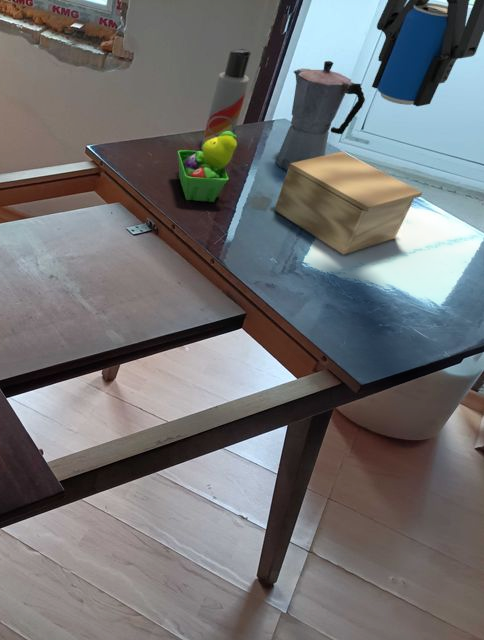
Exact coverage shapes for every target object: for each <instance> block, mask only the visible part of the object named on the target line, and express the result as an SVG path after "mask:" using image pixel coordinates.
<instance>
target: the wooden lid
mask: <svg viewBox="0 0 484 640" xmlns="http://www.w3.org/2000/svg"><path fill="white" fill-rule="evenodd" d="M289 168H291V169H292V170H294V171H296V172H298V173H300V174H301V175H303V176H305V177H307V178H308V179H310V180H312V181H314V182H315V183H317V184H319V185H321V186H322V187H324V188H326V189H328V190H330V191H331V192H333V193H335V194H337V195H338V196H340V197H342V198H344V199H345V200H347V201H349V202H351V203H352V204H354V205H356V206H358V207H359V208H361V209H363V210H365V211H367V212H368V211H372V210H375V209H379V208H382V207H386V206H389V205H393V204H396V203H400V202H403V201H407V200H410V199H417V198H420V197H421V196H422V195H423V192H422V191H420V190H419V189H416V188H414V187H412V186H411V185H409V184H407V183H405V182H403V181H401V180H399V179H397V178H395V177H393V176H391V175H389V174H387V173H385V172H383V171H381V170H379V169H377V168H376V167H374V166H372V165H370V164H368V163H366V162H364V161H362V160H359V159H358V158H356V157H354V156H353V155H350V154H348V153H346V152H344V151H338V152H334V153H329V154H325V156H320V157H316V158H311V159H307V160H303V161H298V162H294V163H290V166H289Z"/></svg>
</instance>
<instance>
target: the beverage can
mask: <svg viewBox="0 0 484 640" xmlns="http://www.w3.org/2000/svg"><path fill="white" fill-rule="evenodd" d="M422 8H423V9H422ZM447 9H448V5H443V4H439V3H431V2H428V3H427V4H425V5H421V6H416V5H415V4H414V8H413V9H412V10H411V11H409V12H408V13H407V15H406V17H405V20H404V22H403V25H402V27H401V30H400V32H399V35H398V37H397V40H396V43H395V45H394V48H393V50H392V53H391V55H390V58H389V60H388V63H387V65H386V68H385V70H384V73H383V75H382V78H381V80H380V83H379V85H378V88H376V89H377V91H378V92H379V93H380V97H381V98H382V99H384V100H385V101H388V102H391V103H394V104H397V105H404V106H405V105H407V106H411V105H413V103H414V101H415V99H416V96H417V94H418V92H419V90H420V87H421V85H422V83H423V80H424V78H425V76H426V74H427V71H428V69H429V67H430V65H431V62H432V60H433V58H434V57H435V56H437V55H441V52H442V45H443V37H444V31H445V29H446V26H447V22H446V17H447V16H448V15H447Z"/></svg>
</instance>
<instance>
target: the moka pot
mask: <svg viewBox="0 0 484 640" xmlns="http://www.w3.org/2000/svg"><path fill="white" fill-rule="evenodd" d="M333 65H334V62H333V61H330V60H326V61H324V64H323V69H311V68H298V69H296V70H294V71H293V73H294V74H295V88H294V96H293V102H292V107H291V115H292V117H291V121H290V126H289V128H288V129H287V132H286V135H285V137H284V140H283V142H282V145H281V147H280V149H279V152H278V154H277V156H276V158H275V163H276V164H277V166H278V167H280V168H281V169H283V170H286V171H288V168H289V166H290V163H294V162H298V161H303V160H307V159H311V158H316V157H320V156H325V155H326V149H327V144H328V139H329V133H330V132H331V133H333V134H336V135H343V133H344V132H345V130H346V129H347V128H348V127H349V125H350V123H352V121H353V120H354V118H355V116H356V115H357V114H358V113H359V111H360V110H361V109H362V108H363V105H364V104H365V102H366V98H365V95H364V94H365V93H364V92H363V88H362V87H361V86H362V83H354V82H352V79H351V78H349V77H347V76H345V75H343V74H342V73H340V72H337V71H333V70H332V68H333ZM346 94H347V95H356V96H357V101H356V102H355V104H354V105H353V106H352V109H351V110H350V111H349V113H348V114H347V115H346V117H345V119H344V121H343V122H342V123H341V124H340V126H339V127H335V126H332V122H333V121H334V119H335V118H336V116H337V114H338V111H339V109H340V106H341V104H342V102H343V100H344V99H345V96H346ZM331 126H332V127H331ZM329 131H330V132H329Z"/></svg>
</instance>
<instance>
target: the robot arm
mask: <svg viewBox="0 0 484 640" xmlns="http://www.w3.org/2000/svg"><path fill="white" fill-rule="evenodd" d="M470 1H471V0H446V3H447V6H448V9H447V15H448V16H447V17H446V22H447V26H446V29H445V31H444V37H443V45H442V52H441V55H437V56H435V57H434V58H433V60H432V62H431V65H430V67H429V69H428V71H427V74H426V76H425V78H424V80H423V83H422V85H421V87H420V90H419V92H418V94H417V96H416V99H415V101H414V103H413V104H412V105H413V106H415V107H422V106H426V105H427V106H428V105H430V104H431V102H432V100H433V98H434V96H435V94H436V91H437V90H438V87H439V85H440V84H444V83H445V82H446V81H447V80H448V78H449V76H450V74H451V72H452V70H453V67H454V66H455V63H456V61H457V60H458V59H460V60H461V59H466V58H472V57H474V56H475V55H476V53H477V51H478V48H479V45H480V43H481V40H482V37H483V35H484V0H474V2H473V5H472V8H471V10H470V13H469V16H468V10H469V5H470ZM429 2H430V0H387V1H386V3H385V6H384V8H383V11H382V13H381V15H380V17H379V19H378V22H377V24H376V29H377V30H378V31H381V32H383V34H384V36H385V38H384V42H383V44H382V47H381V50H380V53H379V55H378V59H377V60H378V61H379V62H380V64H379V66H378V69H377V72H376V75H375V76H374V80H373V82H372V85H371V88H373V89H377V88H378V85H379V83H380V80H381V78H382V75H383V73H384V70H385V68H386V65H387V63H388V60H389V58H390V55H391V53H392V50H393V48H394V45H395V43H396V40H397V37H398V35H399V32H400V30H401V27H402V25H403V22H404V20H405V17H406V15H407V13H408V12H409V11H411V10H412V9H413V8H414V4H415V5H416V6H421V5H425V4H427V3H429ZM422 9H423V8H422ZM467 17H468V18H467Z"/></svg>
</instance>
